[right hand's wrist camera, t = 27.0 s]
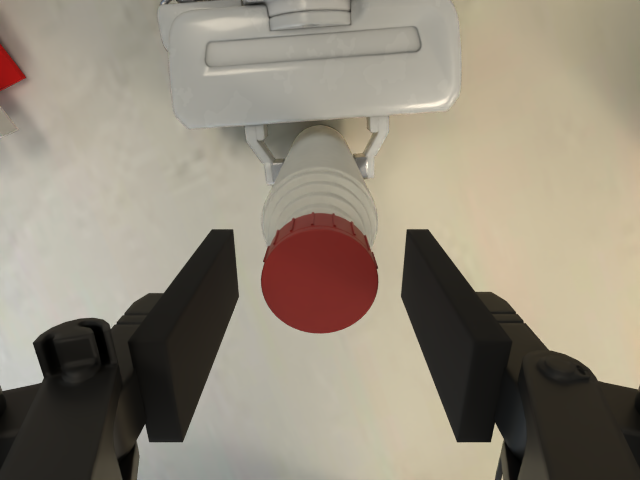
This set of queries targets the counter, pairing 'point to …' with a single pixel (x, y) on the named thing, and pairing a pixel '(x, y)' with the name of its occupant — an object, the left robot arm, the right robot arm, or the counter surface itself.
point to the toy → (4, 74)
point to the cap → (319, 273)
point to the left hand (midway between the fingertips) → (321, 180)
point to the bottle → (319, 185)
